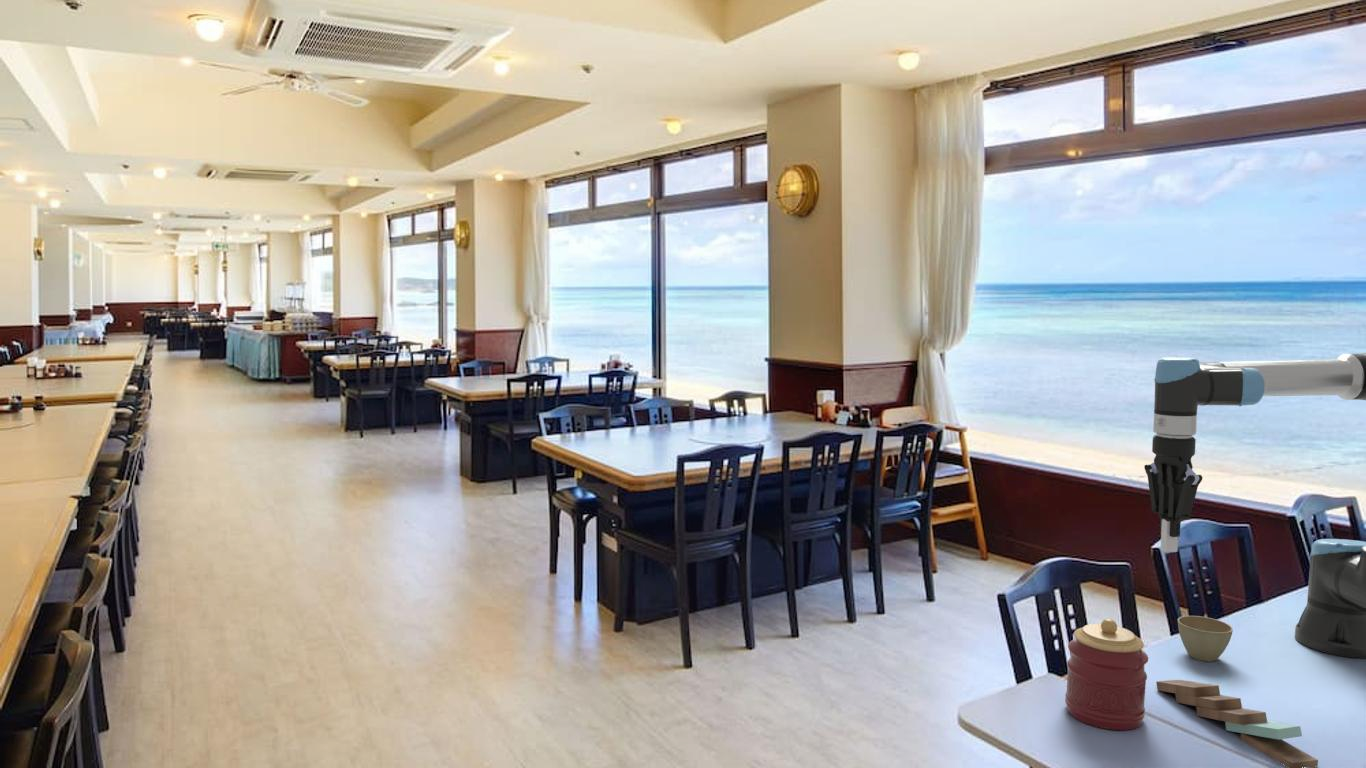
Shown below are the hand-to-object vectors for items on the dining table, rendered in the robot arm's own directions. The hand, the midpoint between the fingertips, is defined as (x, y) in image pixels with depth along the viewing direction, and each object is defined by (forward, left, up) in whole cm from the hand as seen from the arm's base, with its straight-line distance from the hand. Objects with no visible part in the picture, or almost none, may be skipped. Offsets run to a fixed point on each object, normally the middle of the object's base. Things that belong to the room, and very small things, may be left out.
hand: (1168, 551), depth 182 cm
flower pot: (-12, -2, -24) cm, 27 cm away
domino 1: (+7, +10, -23) cm, 26 cm away
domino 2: (+7, +15, -23) cm, 29 cm away
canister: (+26, +17, -24) cm, 40 cm away
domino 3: (+8, +21, -23) cm, 32 cm away
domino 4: (+7, +26, -23) cm, 36 cm away
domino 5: (+7, +30, -24) cm, 38 cm away
